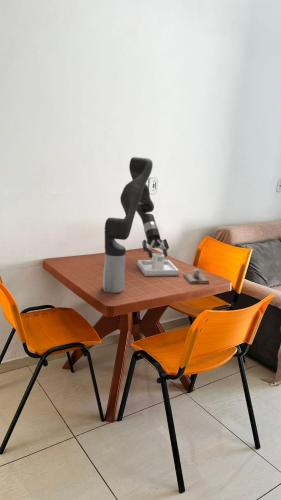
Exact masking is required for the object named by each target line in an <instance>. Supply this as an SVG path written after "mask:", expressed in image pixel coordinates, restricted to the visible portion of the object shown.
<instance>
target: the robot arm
mask: <svg viewBox="0 0 281 500" xmlns="http://www.w3.org/2000/svg"><path fill="white" fill-rule="evenodd" d="M153 166H154V165H153V161H152V159H151V158H150V157H145V156H144V157H143V156H142V157H141V156H133V157H131V159H130V160H129V166H128V167H129V173H130V177H131V179H132V180H131V181H129V182H128V183H127V184H126V185H125V186H124V187H123V190H122V192H121V195H120V197H119V199H120V204H121V206H122V208H123V211H124V214H125V216H124V218H120V217H119V218H118V217H108V218H107V219H105V223H104V265H103V266H104V267H103V270H102V271H103V273H102V289H103V291H104V293H112V294H116V293H117V294H118V293H121V292H123V291H124V290H125V272H126V271H125V270H126V269H125V267H126V253H127V251H126V247H125V246H123V245H122V244H120V243H118V242H117V241H116V240H119V241H121V240H122V241H125V240H127V239H128V238H129V236H130V233H131V230H132V227H133V222H134V219H135V216H136V213H137V214H138V215H139V217H140V219H141V222H142V226H143V230H144V234H145V238H146V239H144V240H143V241H141V242H142V243H141V244H142V249H143V250H142V251H143V252H147V254H148V257H149V259H152V257H153V252H152V249H159V250H161V251H162V254H163V255H164V258H167V257H168V250H169V249H170V246H169V244H168V241H167V239H166V238H164V239H161V234H160V232H159V228H158V226H157V223H156V220H155V216H154V214H152V213H151V212H153V211H154V209H155V205H154V202H153V201H152V199H151V194H150V188H149V186H148V185H147V182H148V179H149V177H150V175H151V173H152V171H153ZM147 245H148V246H147Z"/></svg>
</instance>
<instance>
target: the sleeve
mask: <svg viewBox="0 0 281 500" xmlns="http://www.w3.org/2000/svg"><path fill="white" fill-rule="evenodd" d="M152 256H153V257H152V258H151V260H152V268H153V269H154V270H163V268H164V260H165V257H164V254H163V252H162V253H161V252H157V253H155V252H154V253H153V252H152Z"/></svg>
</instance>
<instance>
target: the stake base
mask: <svg viewBox="0 0 281 500" xmlns="http://www.w3.org/2000/svg"><path fill="white" fill-rule="evenodd" d="M182 277H183V278H184V279H185V281H187V282H188V283H189V284H196V285H197V284H209V283H210V280H209V279H208V278H207V277H206V276H205V275H204V274H202V273H200V268H199V269H198V268H194V269H193V273H183V275H182Z"/></svg>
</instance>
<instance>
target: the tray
mask: <svg viewBox="0 0 281 500" xmlns="http://www.w3.org/2000/svg"><path fill="white" fill-rule="evenodd" d="M137 267H138V269H139V270H140V271H141V272H142V274H143V275H144V277H169V276H170V277H174V276H179V275H180V274H179V273H180V270H179V268H177V267H176V265H174V264H173V263H172V261H171V260H169V259H164V268H163V270H154V269H153V268H152V259H138V260H137Z"/></svg>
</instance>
